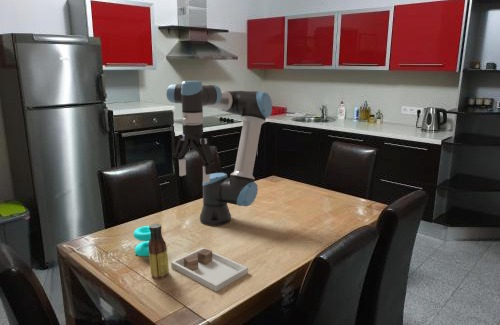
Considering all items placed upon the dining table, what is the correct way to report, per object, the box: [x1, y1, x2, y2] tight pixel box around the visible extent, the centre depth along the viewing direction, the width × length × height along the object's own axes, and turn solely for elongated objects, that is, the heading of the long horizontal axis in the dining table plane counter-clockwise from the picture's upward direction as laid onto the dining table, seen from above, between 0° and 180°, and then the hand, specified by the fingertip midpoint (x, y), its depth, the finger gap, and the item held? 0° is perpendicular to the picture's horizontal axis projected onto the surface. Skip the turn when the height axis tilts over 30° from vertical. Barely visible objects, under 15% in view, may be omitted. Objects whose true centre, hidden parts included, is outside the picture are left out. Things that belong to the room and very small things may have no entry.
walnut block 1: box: [184, 255, 198, 271], centre depth 144 cm, size 4×4×4 cm
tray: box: [170, 246, 249, 293], centre depth 143 cm, size 24×16×3 cm, turn 49°
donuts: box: [133, 225, 151, 257], centre depth 157 cm, size 10×10×10 cm
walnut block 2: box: [197, 248, 213, 265], centre depth 149 cm, size 4×4×4 cm
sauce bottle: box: [148, 223, 170, 280], centre depth 138 cm, size 7×6×20 cm
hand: (194, 178), depth 149 cm, fingers open, 13 cm apart
